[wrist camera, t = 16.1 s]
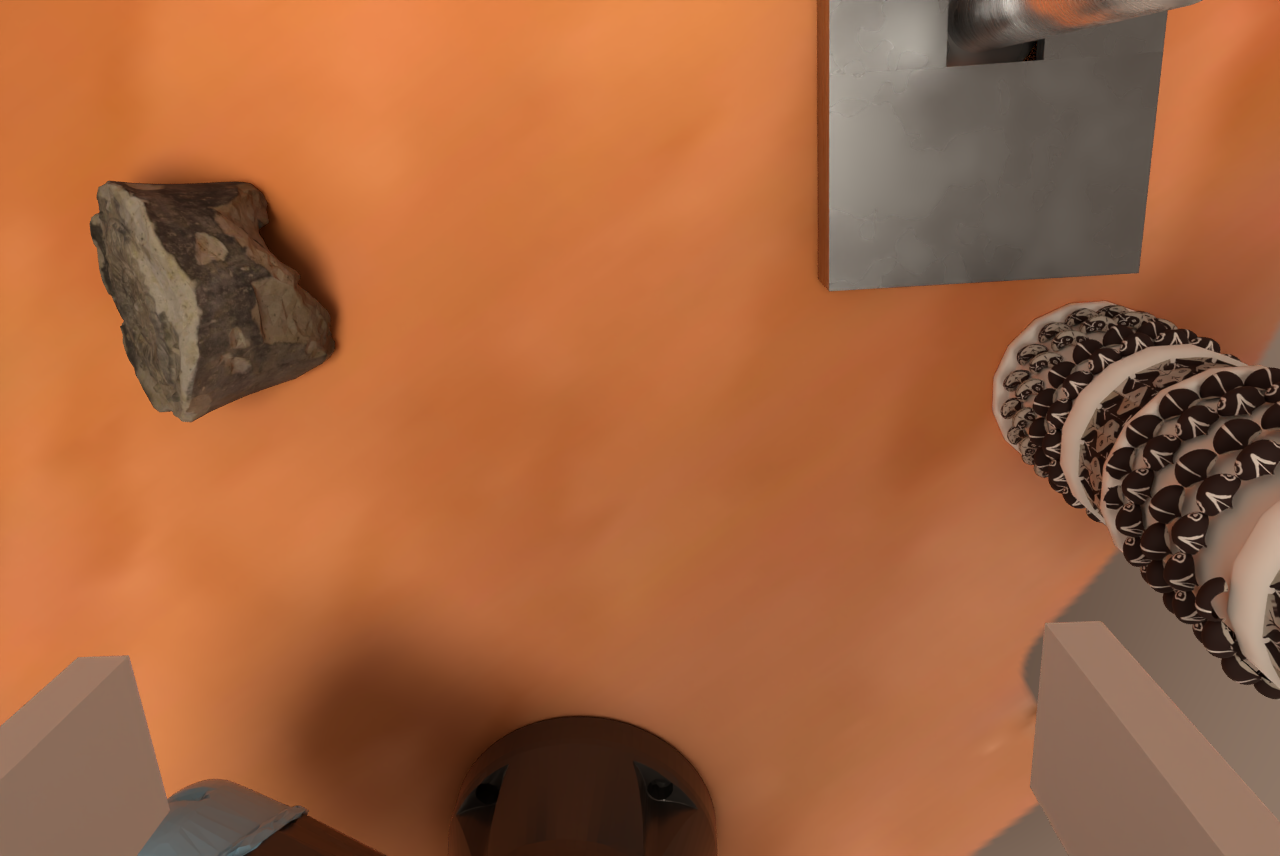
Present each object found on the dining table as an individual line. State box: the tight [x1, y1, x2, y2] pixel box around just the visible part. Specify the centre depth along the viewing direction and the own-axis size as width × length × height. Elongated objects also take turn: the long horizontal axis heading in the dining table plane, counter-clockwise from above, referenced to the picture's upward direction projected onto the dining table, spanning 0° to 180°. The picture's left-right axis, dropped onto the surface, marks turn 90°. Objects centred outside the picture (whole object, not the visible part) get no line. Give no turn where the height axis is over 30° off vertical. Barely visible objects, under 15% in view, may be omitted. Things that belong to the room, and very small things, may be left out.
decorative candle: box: [992, 301, 1280, 700], centre depth 31 cm, size 9×9×25 cm
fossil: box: [90, 181, 335, 422], centre depth 40 cm, size 11×9×10 cm
